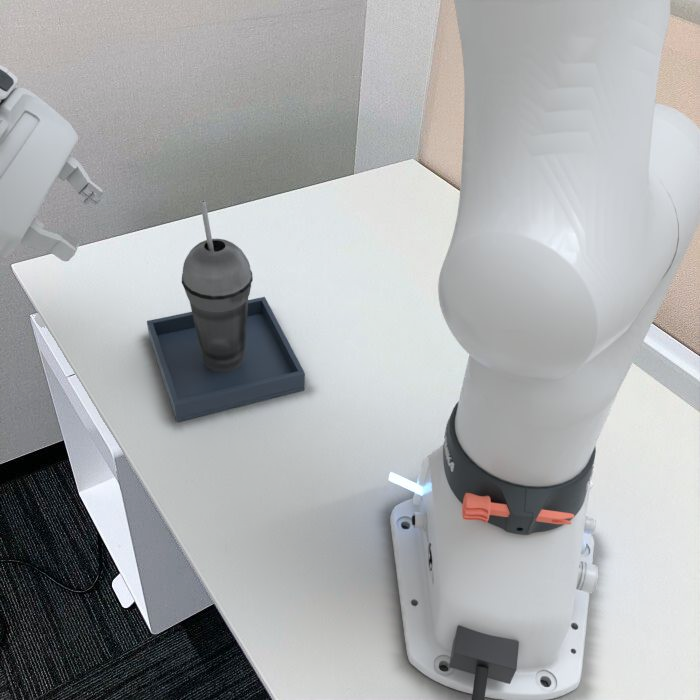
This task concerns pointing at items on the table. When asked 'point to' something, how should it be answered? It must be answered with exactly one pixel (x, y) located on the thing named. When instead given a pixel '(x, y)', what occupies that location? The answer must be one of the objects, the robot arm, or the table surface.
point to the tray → (233, 387)
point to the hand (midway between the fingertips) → (86, 225)
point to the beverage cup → (218, 299)
